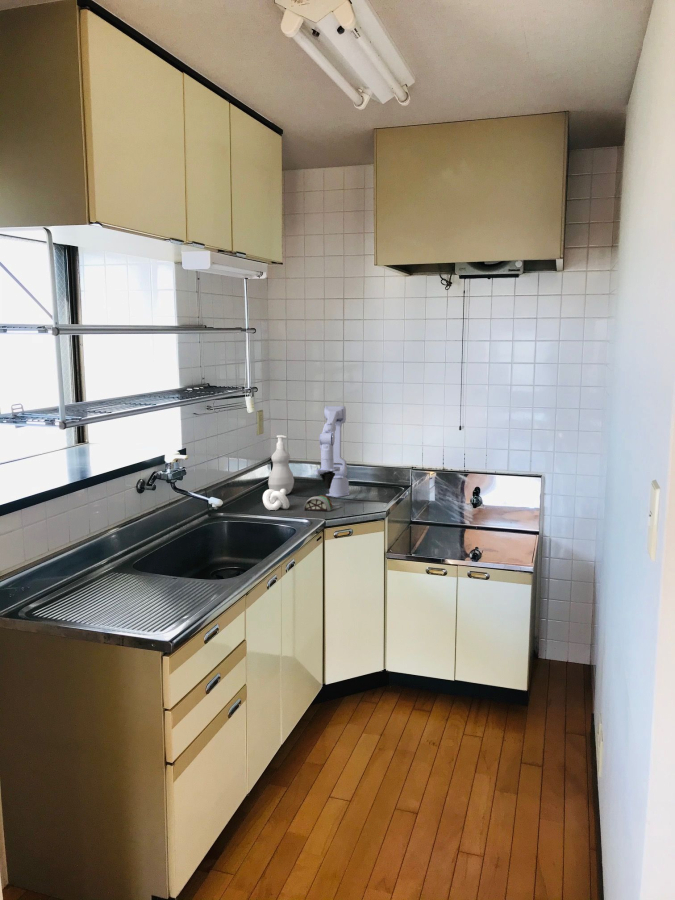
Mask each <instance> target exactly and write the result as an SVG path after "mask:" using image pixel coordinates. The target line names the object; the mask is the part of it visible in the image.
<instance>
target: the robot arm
mask: <svg viewBox="0 0 675 900" xmlns="http://www.w3.org/2000/svg"><path fill="white" fill-rule="evenodd" d="M323 410H324V412H323V415H324V419H325V421H326V423H324V425H323V428H322V432H321V433H320V434H319V435H318V442H319V449H320V468H317V469H314V473H313V474H314V475H316V476H319V475H320V478H321V479H322V483H323V485H324V489H328V490H329V493H325V496H327V497H333V498H334V497H335V498H339V497H345V496H349V495H350V494H351V493H350V490H349V489H350V488H349V487H350V485H349V484H350V481H349V478H348V477H346V476H347V475H348V465H347V461H346V460H345V459H344V458H342V427H343V424H345V423H346V420H347V408H346V406H345V405H326V406H325V407H324V409H323Z"/></svg>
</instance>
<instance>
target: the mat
mask: <svg viewBox="0 0 675 900" xmlns="http://www.w3.org/2000/svg"><path fill="white" fill-rule="evenodd" d="M304 505H305V504H303V505H302V506H303V507H304ZM340 506H341V505H340ZM340 506H339V505H334V504H333V506H332V508H331V509H330V511H332V510H336V509H341V508H340Z"/></svg>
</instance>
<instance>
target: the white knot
mask: <svg viewBox="0 0 675 900" xmlns="http://www.w3.org/2000/svg"><path fill="white" fill-rule="evenodd" d="M286 495H287V494H286V490H285V489H281V490H280V491H275V490H273V489H266V490H265V491H264V492H263V493H262V502H263V505H264V507H265V508H266V509H267V510H268V511H270V510H275V511H277V510H279V508H281V509H283V510H288V509H289V507H290V501H289V499H288V496H286Z"/></svg>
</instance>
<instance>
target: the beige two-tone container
mask: <svg viewBox="0 0 675 900" xmlns="http://www.w3.org/2000/svg"><path fill="white" fill-rule="evenodd" d="M303 505H304V506H303V511H323V512H324V511H325V512H326V511H327V512H330V511H331V510H330V509H331V508H332V506H333V505H334V504H333V502H332V499H331V498H330V497H329V496H327V495H326V494H325V495H323V494H321V495H318V496H316V495H315V496H312V497H309V499H307V500H306V501H305V503H304V504H303Z"/></svg>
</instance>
